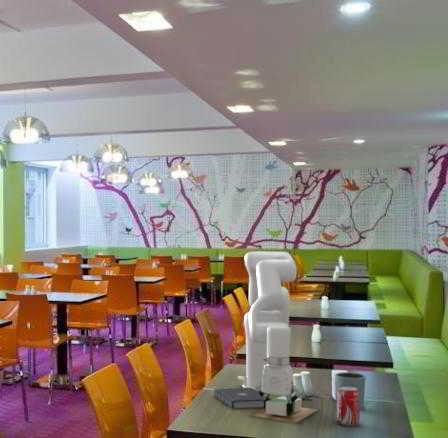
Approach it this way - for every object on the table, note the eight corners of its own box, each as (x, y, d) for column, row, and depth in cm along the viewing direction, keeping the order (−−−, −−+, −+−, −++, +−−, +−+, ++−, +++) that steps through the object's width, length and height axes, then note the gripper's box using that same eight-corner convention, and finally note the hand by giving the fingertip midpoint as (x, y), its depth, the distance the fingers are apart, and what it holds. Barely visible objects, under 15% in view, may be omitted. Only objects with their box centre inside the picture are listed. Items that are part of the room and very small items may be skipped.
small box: (350, 402, 292) (350, 374, 292) (335, 401, 293) (335, 373, 293) (347, 397, 300) (347, 370, 300) (331, 396, 301) (331, 369, 301)
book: (214, 396, 301) (213, 389, 301) (251, 395, 302) (251, 387, 302) (232, 409, 279) (232, 400, 280) (272, 407, 281) (271, 399, 281)
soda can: (333, 421, 263) (333, 386, 263) (353, 421, 263) (353, 385, 264) (342, 427, 256) (342, 390, 256) (363, 426, 256) (363, 390, 257)
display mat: (250, 416, 270) (250, 415, 270) (274, 404, 287) (274, 403, 287) (296, 423, 260) (296, 422, 260) (317, 411, 278) (317, 409, 278)
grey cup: (365, 405, 286) (364, 373, 286) (366, 412, 276) (366, 378, 276) (335, 403, 289) (335, 371, 289) (336, 410, 279) (336, 376, 279)
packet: (265, 413, 269) (265, 401, 269) (282, 407, 282) (282, 395, 282) (285, 416, 265) (285, 404, 265) (301, 410, 277) (301, 398, 277)
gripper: (249, 360, 271) (250, 411, 271) (299, 365, 261) (299, 418, 261) (258, 357, 277) (258, 407, 277) (306, 362, 267) (307, 414, 267)
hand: (278, 412), depth 269 cm, fingers closed on packet, 7 cm apart
